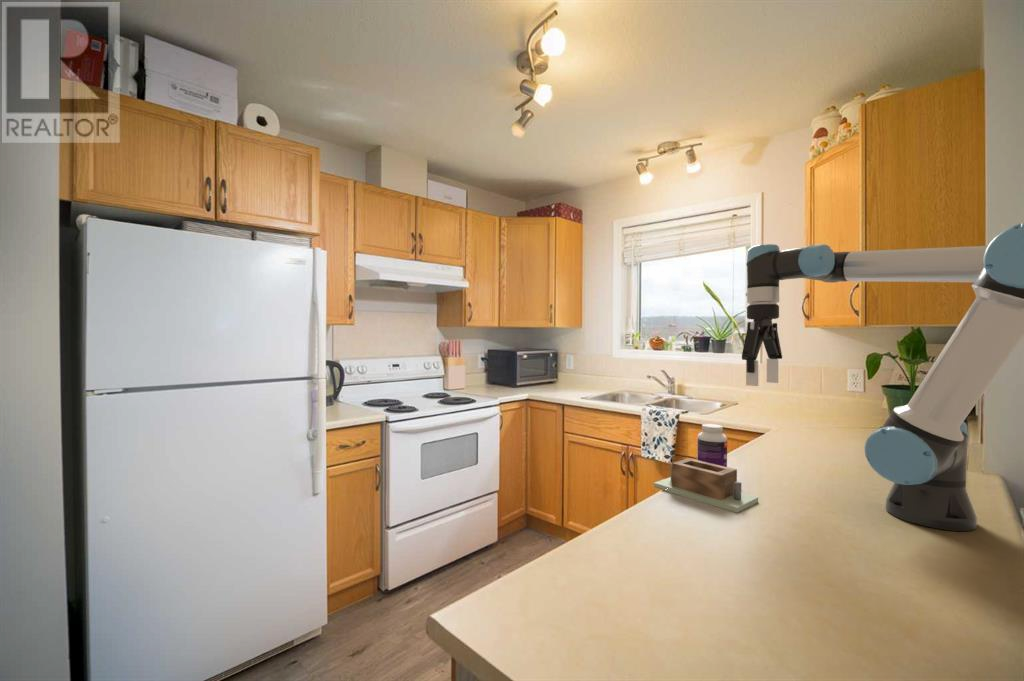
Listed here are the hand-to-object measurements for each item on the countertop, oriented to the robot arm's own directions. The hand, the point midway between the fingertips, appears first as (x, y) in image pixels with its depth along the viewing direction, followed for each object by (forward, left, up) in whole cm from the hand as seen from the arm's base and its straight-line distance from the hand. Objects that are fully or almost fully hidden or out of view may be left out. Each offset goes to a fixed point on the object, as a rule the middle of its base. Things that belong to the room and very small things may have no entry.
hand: (762, 384), depth 122 cm
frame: (+7, +17, -27) cm, 32 cm away
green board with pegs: (+7, +17, -28) cm, 33 cm away
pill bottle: (+14, -1, -28) cm, 31 cm away
